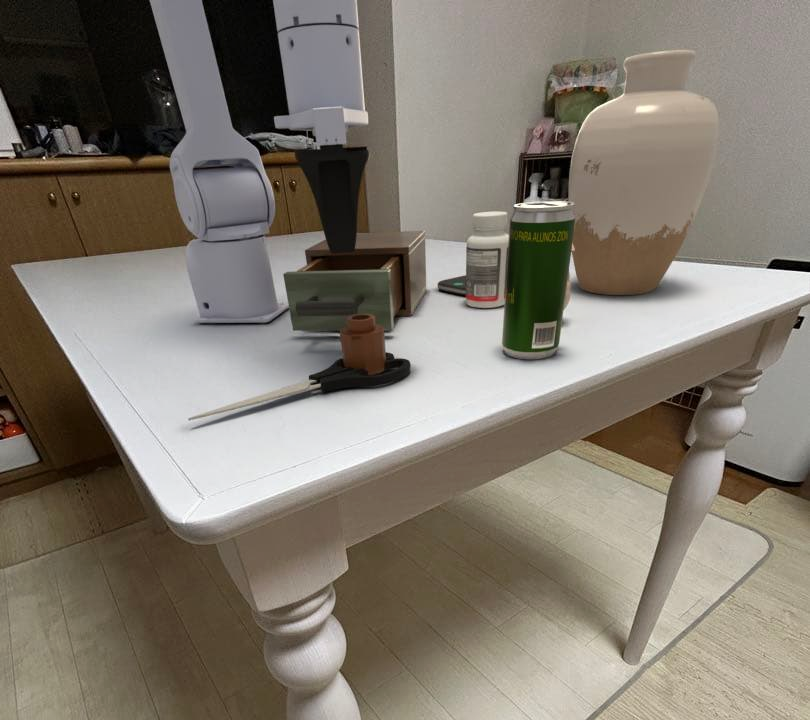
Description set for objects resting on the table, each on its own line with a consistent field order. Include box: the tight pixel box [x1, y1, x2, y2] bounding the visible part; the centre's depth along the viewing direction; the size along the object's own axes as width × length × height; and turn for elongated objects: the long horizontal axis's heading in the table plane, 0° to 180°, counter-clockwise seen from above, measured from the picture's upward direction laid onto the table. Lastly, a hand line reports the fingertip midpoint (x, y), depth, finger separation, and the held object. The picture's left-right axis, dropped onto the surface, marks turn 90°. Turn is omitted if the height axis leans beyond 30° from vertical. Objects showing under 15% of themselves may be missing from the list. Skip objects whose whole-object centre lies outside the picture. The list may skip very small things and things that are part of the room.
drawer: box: [282, 254, 405, 332], centre depth 57 cm, size 17×11×6 cm, turn 170°
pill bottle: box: [465, 211, 509, 309], centre depth 62 cm, size 5×5×10 cm
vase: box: [567, 49, 720, 296], centre depth 62 cm, size 16×16×23 cm
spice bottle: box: [339, 314, 387, 376], centre depth 46 cm, size 4×4×4 cm
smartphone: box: [437, 274, 466, 296], centre depth 73 cm, size 8×1×15 cm
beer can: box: [501, 200, 576, 360], centre depth 46 cm, size 5×5×12 cm
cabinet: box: [304, 230, 427, 317], centre depth 66 cm, size 13×12×7 cm
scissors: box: [187, 351, 412, 421], centre depth 43 cm, size 7×1×20 cm
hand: (342, 251), depth 44 cm, fingers closed
